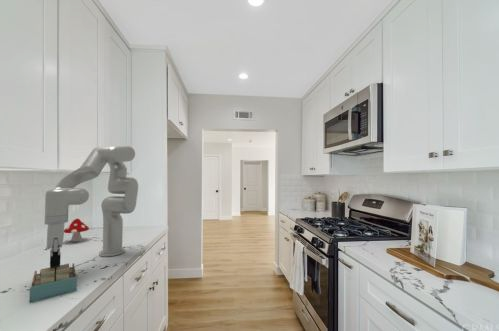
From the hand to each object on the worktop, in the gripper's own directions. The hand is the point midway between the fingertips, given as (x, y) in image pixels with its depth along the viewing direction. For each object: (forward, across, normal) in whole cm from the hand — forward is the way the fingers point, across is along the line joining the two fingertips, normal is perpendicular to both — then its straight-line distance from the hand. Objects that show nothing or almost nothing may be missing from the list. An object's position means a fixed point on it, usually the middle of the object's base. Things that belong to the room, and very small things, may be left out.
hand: (55, 263), depth 95 cm
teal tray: (+7, +11, 0) cm, 13 cm away
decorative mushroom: (+7, -67, +10) cm, 68 cm away
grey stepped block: (+4, 0, 0) cm, 4 cm away
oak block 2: (+5, +4, +2) cm, 7 cm away
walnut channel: (+7, -1, 0) cm, 7 cm away
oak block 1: (+5, +4, -2) cm, 7 cm away
